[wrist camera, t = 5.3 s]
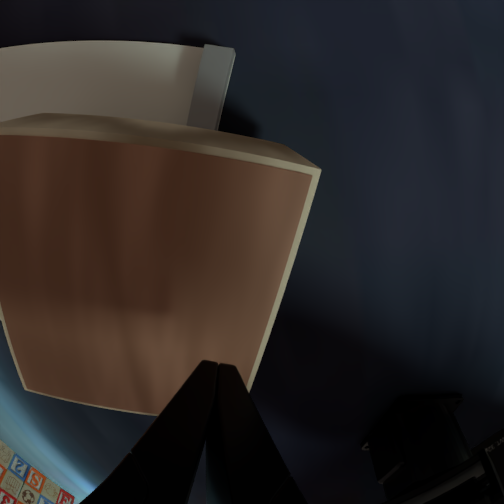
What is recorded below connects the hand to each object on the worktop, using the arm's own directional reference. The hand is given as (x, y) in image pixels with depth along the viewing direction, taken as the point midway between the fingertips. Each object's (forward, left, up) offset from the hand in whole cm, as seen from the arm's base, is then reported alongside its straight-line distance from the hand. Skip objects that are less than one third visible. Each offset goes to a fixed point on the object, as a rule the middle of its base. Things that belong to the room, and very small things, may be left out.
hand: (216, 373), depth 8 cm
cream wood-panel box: (-1, 0, -4) cm, 4 cm away
